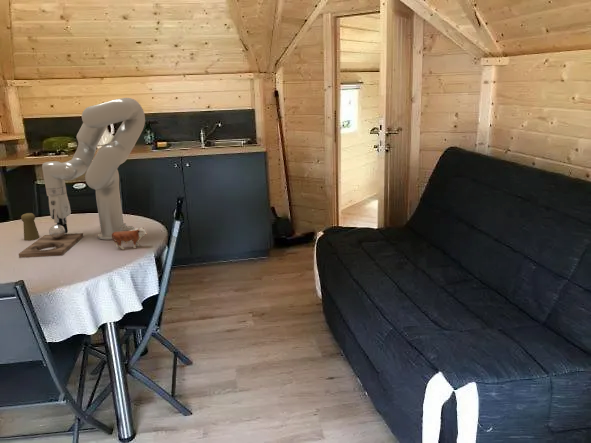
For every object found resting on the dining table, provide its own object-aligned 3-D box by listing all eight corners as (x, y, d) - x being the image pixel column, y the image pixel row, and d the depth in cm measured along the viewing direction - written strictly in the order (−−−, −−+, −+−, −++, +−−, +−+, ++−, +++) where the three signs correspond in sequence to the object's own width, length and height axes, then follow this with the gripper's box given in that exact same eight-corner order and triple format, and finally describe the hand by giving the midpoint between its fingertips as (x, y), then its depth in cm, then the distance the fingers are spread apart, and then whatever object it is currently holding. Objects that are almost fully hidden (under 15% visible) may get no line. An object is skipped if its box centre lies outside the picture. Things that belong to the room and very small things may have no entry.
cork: (33, 240, 207) (28, 215, 204) (20, 240, 208) (15, 215, 205) (42, 236, 213) (38, 212, 210) (30, 235, 214) (26, 211, 211)
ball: (68, 235, 207) (66, 222, 206) (63, 240, 202) (60, 226, 200) (53, 236, 207) (51, 222, 205) (48, 240, 201) (45, 227, 200)
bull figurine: (148, 248, 193) (145, 228, 191) (112, 250, 192) (110, 231, 189) (149, 244, 197) (147, 225, 195) (115, 247, 196) (112, 227, 193)
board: (45, 238, 210) (44, 234, 210) (83, 236, 211) (82, 233, 211) (19, 257, 187) (18, 253, 187) (62, 255, 188) (61, 251, 188)
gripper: (58, 194, 198) (65, 237, 203) (72, 187, 212) (78, 227, 217) (39, 195, 197) (47, 238, 202) (54, 187, 212) (61, 228, 217)
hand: (63, 232), depth 210 cm, fingers closed
